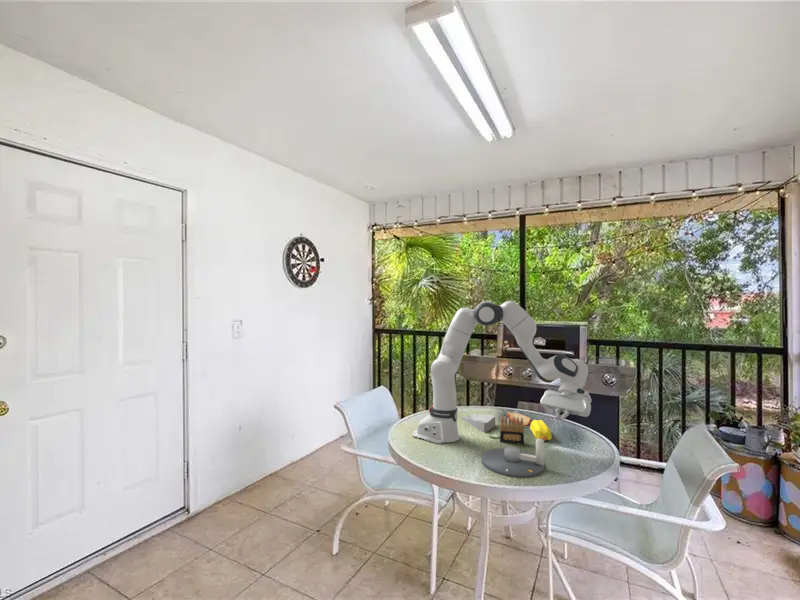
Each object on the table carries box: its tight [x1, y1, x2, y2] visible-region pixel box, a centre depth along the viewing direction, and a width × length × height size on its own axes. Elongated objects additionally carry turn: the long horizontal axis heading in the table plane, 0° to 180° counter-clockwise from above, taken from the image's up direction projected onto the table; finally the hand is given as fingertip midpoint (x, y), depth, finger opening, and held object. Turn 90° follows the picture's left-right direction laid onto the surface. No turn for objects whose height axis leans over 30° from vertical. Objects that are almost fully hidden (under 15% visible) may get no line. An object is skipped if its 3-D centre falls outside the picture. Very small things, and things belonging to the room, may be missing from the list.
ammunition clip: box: [499, 415, 525, 445], centre depth 174 cm, size 11×2×12 cm, turn 76°
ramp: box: [461, 413, 496, 433], centre depth 200 cm, size 28×16×5 cm, turn 2°
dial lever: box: [504, 438, 545, 466], centre depth 148 cm, size 15×6×9 cm, turn 64°
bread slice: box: [506, 411, 533, 426], centre depth 206 cm, size 18×18×4 cm
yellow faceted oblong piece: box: [529, 419, 553, 442], centre depth 182 cm, size 18×7×8 cm
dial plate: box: [481, 447, 545, 478], centre depth 150 cm, size 24×24×2 cm
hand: (559, 419), depth 157 cm, fingers closed
